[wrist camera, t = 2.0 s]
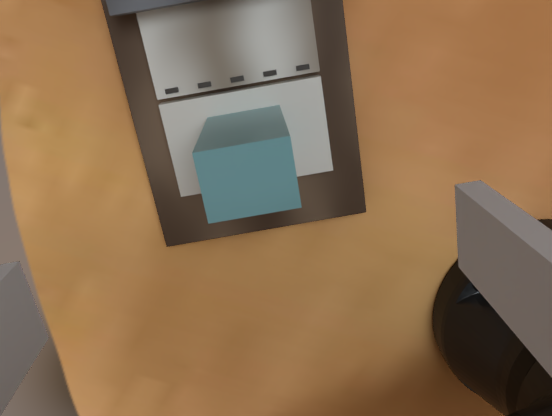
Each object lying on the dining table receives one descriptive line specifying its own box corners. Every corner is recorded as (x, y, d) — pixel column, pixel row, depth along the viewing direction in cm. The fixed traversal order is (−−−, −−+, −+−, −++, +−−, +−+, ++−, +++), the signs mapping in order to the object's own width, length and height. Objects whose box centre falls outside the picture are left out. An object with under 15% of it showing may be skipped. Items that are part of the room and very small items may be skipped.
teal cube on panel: (318, 74, 32) (347, 97, 23) (330, 166, 34) (361, 221, 25) (160, 102, 32) (124, 136, 23) (182, 192, 34) (157, 257, 25)
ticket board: (325, -114, 30) (337, -136, 26) (361, 204, 37) (376, 228, 32) (88, -71, 30) (62, -86, 26) (169, 238, 37) (159, 266, 33)
